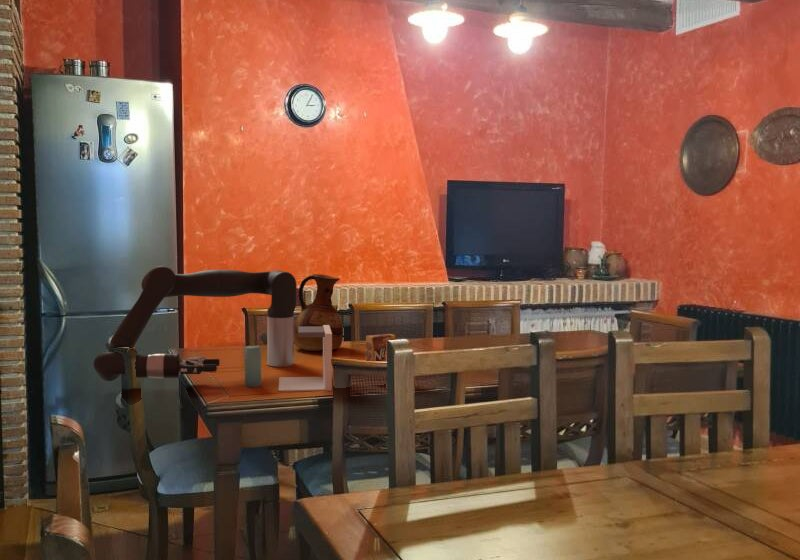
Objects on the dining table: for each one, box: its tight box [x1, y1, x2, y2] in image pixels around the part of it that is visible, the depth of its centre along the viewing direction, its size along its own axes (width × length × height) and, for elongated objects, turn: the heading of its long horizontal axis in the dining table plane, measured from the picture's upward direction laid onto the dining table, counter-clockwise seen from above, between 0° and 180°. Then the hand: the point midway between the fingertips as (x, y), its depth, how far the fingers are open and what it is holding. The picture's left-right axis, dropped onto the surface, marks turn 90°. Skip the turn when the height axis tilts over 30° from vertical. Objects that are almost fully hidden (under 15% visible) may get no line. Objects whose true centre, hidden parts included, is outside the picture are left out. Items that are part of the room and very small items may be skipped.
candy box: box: [364, 333, 396, 361], centre depth 245 cm, size 9×4×15 cm, turn 123°
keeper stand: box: [278, 325, 333, 392], centre depth 240 cm, size 18×16×18 cm
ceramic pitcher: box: [294, 273, 344, 352], centre depth 300 cm, size 20×20×30 cm
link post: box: [244, 345, 262, 388], centre depth 238 cm, size 5×5×12 cm
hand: (218, 365), depth 236 cm, fingers open, 8 cm apart
